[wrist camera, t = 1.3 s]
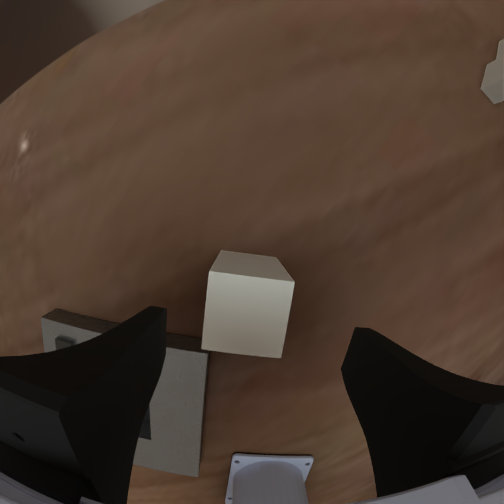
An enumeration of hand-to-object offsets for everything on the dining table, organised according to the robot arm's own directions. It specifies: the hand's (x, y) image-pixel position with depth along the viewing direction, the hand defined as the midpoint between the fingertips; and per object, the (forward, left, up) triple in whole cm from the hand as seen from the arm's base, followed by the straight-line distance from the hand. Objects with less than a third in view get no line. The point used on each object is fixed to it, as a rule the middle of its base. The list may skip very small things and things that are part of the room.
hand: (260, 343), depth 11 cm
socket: (-12, +9, -11) cm, 19 cm away
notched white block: (+26, -24, -12) cm, 37 cm away
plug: (0, 0, -11) cm, 11 cm away
